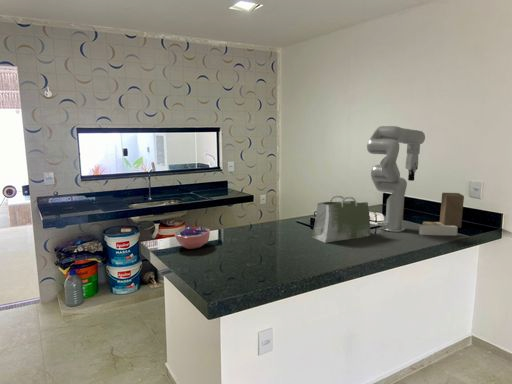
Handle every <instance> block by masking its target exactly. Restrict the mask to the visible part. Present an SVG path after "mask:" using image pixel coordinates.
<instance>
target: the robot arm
mask: <svg viewBox="0 0 512 384" xmlns="http://www.w3.org/2000/svg"><path fill="white" fill-rule="evenodd" d="M425 139H426V135H425V132H423V131H422V130H417V129H412V128H411V129H410V128H402V127H400V126H397V125H381V126H378V127H377V128H376V129H375V131H373V133H372V135H371V136H370V137H369V140H368V142H367V144H366V148H367V149H366V150H367V152H368V153H369V154H372V155H385V156H384V157H383V158H382V160H380V162H379V164H376V165H374V166H372V167H371V170H370V177H371V180H372V182H373V185H374V187H375V189H376V190H377V191H378V192H382V193H388V194H389V193H390V195H389V196H388V198H387V199H386V208H385V211H386V212H385V220H384V221H382V222H381V221H379V222H376V225H377V226H380V227H382V230H384V231H387V232H392V233H401V232H404V231H405V230H406V229H405V227H403V223H404V222H403V221H404V220H403V219H404V207H405V206H404V205H405V194H406V190H407V186H408V182H409V181H410V182H411V181H412V182H413V181H415V174H416V172H417V170H418V167H419V155H420V154H421V153H420V150H421V145H422V144H424V142H425V141H426V140H425ZM400 144H406V160H405V169H406V170H408V178H407V179H405V178H404V177H401V173H400V169H399V167H398V165H397V158H398V157H399V153H400ZM407 180H408V182H407Z"/></svg>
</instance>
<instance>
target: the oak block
mask: <svg viewBox="0 0 512 384" xmlns="http://www.w3.org/2000/svg"><path fill="white" fill-rule="evenodd" d="M422 225H442V226H445V225H444V224H442V223H441V222H440V221H423V222H422Z"/></svg>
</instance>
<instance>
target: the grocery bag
mask: <svg viewBox="0 0 512 384" xmlns="http://www.w3.org/2000/svg"><path fill="white" fill-rule="evenodd" d="M336 198H340V199H342V200H341V201H333V200H334V199H336ZM348 199H349V200H348ZM329 200H330V201H324V202H323V201H322V202H318V203H317V207H316V214H315V220H314V225H313V228H312V232H311V236H310V238H313V239H315V240H318V241H320V242H323V243H325V244H327V243H332V242H338V241H343V240H345V241H346V240H352V239H353V240H354V239H361V238H365V237H370V236H371V235H372V234H371V223H370V222H371V220H370V209H369V203H368V201H367V202H366V201H365V202H358V201H357V200H356V198H355V197H352V196H346V197H344V196H343V195H335V196H332V197H331V198H330V199H329ZM345 200H346V201H345Z"/></svg>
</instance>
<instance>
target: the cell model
mask: <svg viewBox="0 0 512 384" xmlns="http://www.w3.org/2000/svg"><path fill="white" fill-rule="evenodd" d="M210 232H211V229H210V228H208V227H205V226H198V227H197V226H196V227H192V226H186V227H185V228H180V229H179V230H177V231H176V232H175V233H174V236H175V240H176V241H177V242H178V244H179V245H180V246H181V247H183V248H185V249H187V250H188V249H189V250H191V249H192V250H193V249H198V248H201V247H203V246H204V245H205V244H207V243H208V242H209V240H210V235H211V233H210Z"/></svg>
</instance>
